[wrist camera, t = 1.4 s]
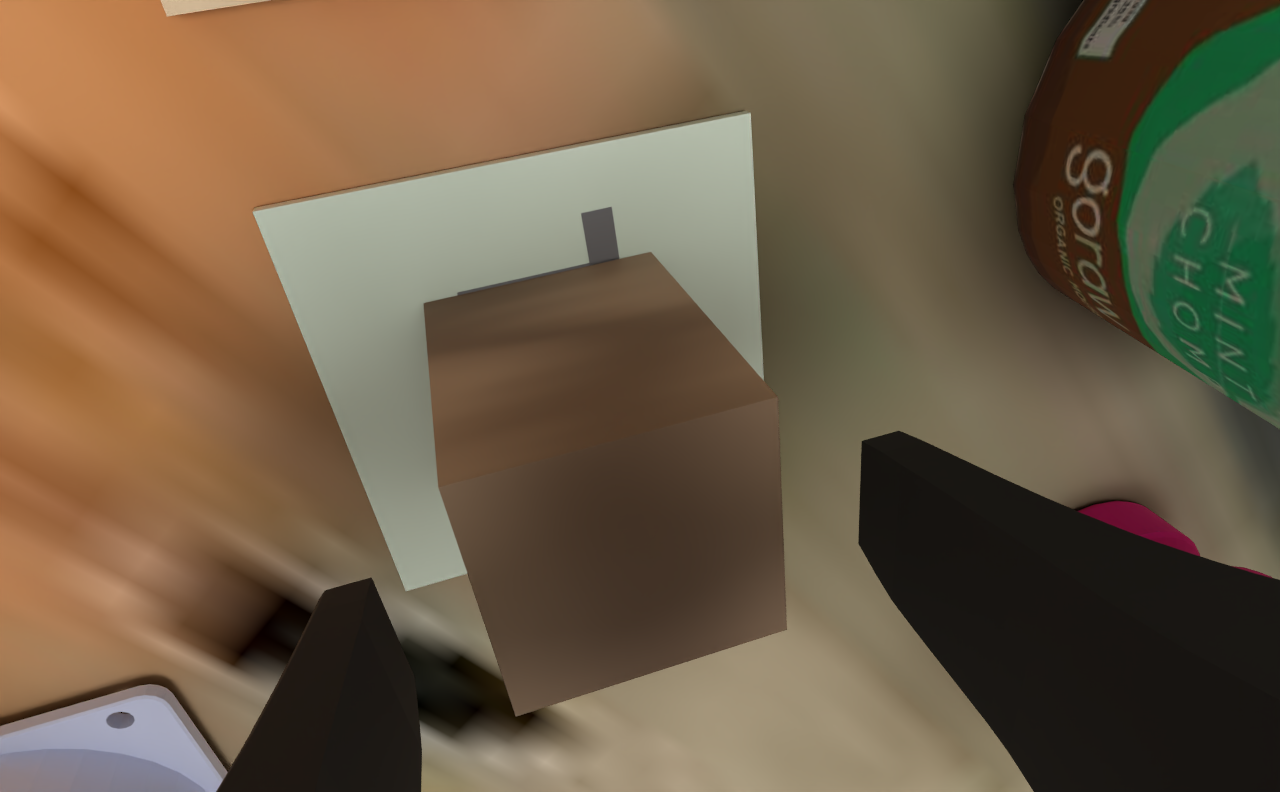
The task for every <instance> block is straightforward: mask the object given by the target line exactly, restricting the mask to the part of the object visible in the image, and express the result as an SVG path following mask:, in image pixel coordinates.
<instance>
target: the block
mask: <svg viewBox="0 0 1280 792" xmlns="http://www.w3.org/2000/svg"><path fill="white" fill-rule="evenodd" d="M423 305H424V317H425V330H426V342H427V355H428V367H429V379H430V392H431V404H432V416H433V429H434V441H435V454H436V466H437V478H438V488H439V491H440V494H441V497H442V500H443V503H444V506H445V509H446V512H447V515H448V518H449V521H450V524H451V526H452V529H453V532H454V535H455V538H456V541H457V544H458V547H459V550H460V553H461V556H462V559H463V562H464V565H465V568H466V571H467V574H468V577H469V580H470V583H471V585H472V588H473V591H474V594H475V597H476V600H477V603H478V606H479V609H480V612H481V615H482V618H483V621H484V624H485V627H486V630H487V633H488V636H489V639H490V641H491V644H492V647H493V650H494V653H495V656H496V659H497V662H498V665H499V668H500V671H501V674H502V677H503V680H504V683H505V686H506V689H507V692H508V695H509V698H510V700H511V703H512V706H513V709H514V712H515V715H516V716H519V715H522V714H525V713H528V712H531V711H535V710H538V709H541V708H544V707H547V706H550V705H553V704H556V703H559V702H563V701H566V700H569V699H572V698H575V697H578V696H581V695H584V694H588V693H591V692H594V691H597V690H600V689H603V688H606V687H609V686H612V685H616V684H619V683H622V682H625V681H628V680H631V679H634V678H637V677H640V676H644V675H647V674H650V673H653V672H656V671H659V670H662V669H665V668H668V667H672V666H675V665H678V664H681V663H684V662H687V661H690V660H693V659H697V658H700V657H703V656H706V655H709V654H712V653H715V652H718V651H721V650H725V649H728V648H731V647H734V646H737V645H740V644H743V643H746V642H749V641H753V640H756V639H759V638H762V637H765V636H768V635H771V634H774V633H778V632H781V631H784V630H787V620H786V594H785V568H784V542H783V516H782V490H781V464H780V438H779V412H778V397H777V395H776V394H775V393H774V392H773V391H772V390H771V389H770V387H769V386H768V385H767V384H766V383H765V382H764V381H763V379H762V378H761V377H760V376H759V375H758V374H757V373H756V371H755V370H754V369H753V368H752V367H751V366H750V365H749V363H748V362H747V361H746V360H745V359H744V358H743V356H742V355H741V354H740V353H739V352H738V351H737V350H736V348H735V347H734V346H733V345H732V344H731V343H730V342H729V340H728V339H727V338H726V337H725V336H724V335H723V334H722V332H721V331H720V330H719V329H718V328H717V327H716V326H715V324H714V323H713V322H712V321H711V320H710V319H709V318H708V316H707V315H706V314H705V313H704V312H703V311H702V310H701V308H700V307H699V306H698V305H697V304H696V303H695V302H694V300H693V299H692V298H691V297H690V296H689V295H688V294H687V292H686V291H685V290H684V289H683V288H682V287H681V286H680V284H679V283H678V282H677V281H676V280H675V279H674V278H673V276H672V275H671V274H670V273H669V272H668V271H667V270H666V268H665V267H664V266H663V265H662V264H661V263H660V262H659V260H658V259H657V258H656V257H655V256H654V255H653V254H652V252H648V253H644V254H639V255H635V256H630V257H626V258H622V259H617V260H613V261H608V262H604V263H599V264H595V265H591V266H586V267H582V268H577V269H573V270H568V271H564V272H559V273H555V274H551V275H546V276H542V277H537V278H533V279H528V280H524V281H520V282H515V283H511V284H506V285H502V286H497V287H493V288H488V289H484V290H480V291H475V292H471V293H466V294H462V295H457V296H453V297H449V298H444V299H440V300H435V301H431V302H426V303H423Z"/></svg>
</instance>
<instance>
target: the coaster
mask: <svg viewBox="0 0 1280 792" xmlns="http://www.w3.org/2000/svg"><path fill="white" fill-rule="evenodd" d="M263 1H269V0H161V3H162V5H163V8H164V10H165V12H166V15H167V16H172V15H179V14H185V13H192V12H198V11H205V10H211V9H218V8H224V7H231V6H237V5H243V4H250V3H256V2H263Z"/></svg>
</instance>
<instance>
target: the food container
mask: <svg viewBox="0 0 1280 792" xmlns="http://www.w3.org/2000/svg"><path fill="white" fill-rule="evenodd" d="M1013 185H1014V194H1015V203H1016V212H1017V222H1018V230H1019V233H1020V236H1021V239H1022V241H1023V244H1024V247H1025V250H1026V253H1027V255H1028V256H1029V258H1030V260H1031V261H1032V263H1033V265H1034V266H1035V268H1036V269H1037V271H1038V273H1039V274H1040V275H1041V276H1042V277H1043V278H1044V279H1045V280H1046V281H1047V282H1048V283H1050V284H1051V285H1052V286H1053V287H1054V288H1055V289H1057V290H1058V291H1060V292H1061V293H1063V294H1065V295H1066V296H1068V297H1069V298H1071V299H1073V300H1074V301H1076V302H1077V303H1079V304H1081V305H1082V306H1084V307H1085V308H1087V309H1089V310H1090V311H1092V312H1093V313H1095V314H1097V315H1098V316H1100V317H1101V318H1103V319H1105V320H1106V321H1108V322H1109V323H1111V324H1113V325H1114V326H1116V327H1117V328H1119V329H1121V330H1122V331H1124V332H1125V333H1127V334H1129V335H1130V336H1132V337H1133V338H1135V339H1137V340H1138V341H1140V342H1141V343H1143V344H1145V345H1146V346H1148V347H1149V348H1151V349H1153V350H1154V351H1156V352H1157V353H1159V354H1160V355H1162V356H1164V357H1165V358H1167V359H1168V360H1170V361H1172V362H1173V363H1175V364H1176V365H1178V366H1180V367H1181V368H1183V369H1184V370H1186V371H1188V372H1189V373H1191V374H1192V375H1194V376H1196V377H1197V378H1199V379H1200V380H1202V381H1204V382H1205V383H1207V384H1208V385H1210V386H1212V387H1213V388H1215V389H1216V390H1218V391H1220V392H1221V393H1223V394H1224V395H1226V396H1228V397H1229V398H1231V399H1232V400H1234V401H1236V402H1237V403H1239V404H1240V405H1242V406H1244V407H1245V408H1247V409H1248V410H1250V411H1252V412H1253V413H1255V414H1256V415H1258V416H1260V417H1261V418H1263V419H1264V420H1266V421H1268V422H1269V423H1271V424H1272V425H1274V426H1276V427H1277V428H1279V429H1280V0H1083V2H1082V3H1081V5H1080V6H1079V7H1078V9H1077V10H1076V12H1075V13H1074V15H1073V16H1072V18H1071V19H1070V20H1069V22H1068V23H1067V25H1066V26H1065V28H1064V29H1063V31H1062V32H1061V34H1060V35H1059V36H1058V38H1057V40H1056V42H1055V45H1054V47H1053V49H1052V52H1051V54H1050V57H1049V59H1048V61H1047V64H1046V66H1045V68H1044V71H1043V73H1042V76H1041V78H1040V80H1039V83H1038V85H1037V88H1036V90H1035V92H1034V95H1033V97H1032V100H1031V102H1030V104H1029V107H1028V109H1027V111H1026V114H1025V118H1024V124H1023V130H1022V136H1021V142H1020V148H1019V154H1018V160H1017V166H1016V172H1015V178H1014V184H1013Z"/></svg>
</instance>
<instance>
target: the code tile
mask: <svg viewBox="0 0 1280 792" xmlns="http://www.w3.org/2000/svg"><path fill="white" fill-rule="evenodd" d="M253 214H254V216H255V219H256V221H257V224H258V226H259V229H260V231H261V234H262V236H263V239H264V241H265V244H266V246H267V249H268V251H269V254H270V256H271V259H272V261H273V263H274V266H275V268H276V271H277V273H278V276H279V278H280V281H281V283H282V286H283V288H284V291H285V293H286V296H287V298H288V301H289V303H290V306H291V308H292V310H293V313H294V315H295V318H296V320H297V323H298V325H299V328H300V330H301V333H302V335H303V338H304V340H305V343H306V345H307V348H308V350H309V353H310V355H311V357H312V360H313V362H314V365H315V367H316V370H317V372H318V375H319V377H320V380H321V382H322V385H323V387H324V390H325V392H326V395H327V397H328V400H329V402H330V405H331V407H332V409H333V412H334V414H335V417H336V419H337V422H338V424H339V427H340V429H341V432H342V434H343V437H344V439H345V442H346V444H347V447H348V449H349V452H350V454H351V456H352V459H353V461H354V464H355V466H356V469H357V471H358V474H359V476H360V479H361V481H362V484H363V486H364V489H365V491H366V494H367V496H368V499H369V501H370V503H371V506H372V508H373V511H374V513H375V516H376V518H377V521H378V523H379V526H380V528H381V531H382V533H383V536H384V538H385V541H386V543H387V546H388V548H389V550H390V553H391V555H392V558H393V560H394V563H395V565H396V568H397V570H398V573H399V575H400V578H401V580H402V583H403V585H404V588H405V590H406V591H409V590H412V589H416V588H419V587H423V586H426V585H430V584H433V583H437V582H440V581H444V580H447V579H451V578H454V577H458V576H461V575H465V574H467V571H466V568H465V565H464V562H463V559H462V556H461V553H460V550H459V547H458V544H457V541H456V538H455V535H454V532H453V529H452V526H451V524H450V521H449V518H448V515H447V512H446V509H445V506H444V503H443V500H442V497H441V494H440V491H439V488H438V478H437V466H436V454H435V441H434V429H433V416H432V404H431V392H430V379H429V367H428V355H427V342H426V330H425V317H424V305H423V303H426V302H431V301H435V300H440V299H444V298H449V297H453V296H457V295H462V294H466V293H471V292H475V291H480V290H484V289H488V288H493V287H497V286H502V285H506V284H511V283H515V282H520V281H524V280H528V279H533V278H537V277H542V276H546V275H551V274H555V273H559V272H564V271H568V270H573V269H577V268H582V267H586V266H591V265H595V264H599V263H604V262H608V261H613V260H617V259H622V258H626V257H630V256H635V255H639V254H644V253H648V252H652V254H653V255H654V256H655V257H656V258H657V259H658V260H659V262H660V263H661V264H662V265H663V266H664V267H665V268H666V270H667V271H668V272H669V273H670V274H671V275H672V276H673V278H674V279H675V280H676V281H677V282H678V283H679V284H680V286H681V287H682V288H683V289H684V290H685V291H686V292H687V294H688V295H689V296H690V297H691V298H692V299H693V300H694V302H695V303H696V304H697V305H698V306H699V307H700V308H701V310H702V311H703V312H704V313H705V314H706V315H707V316H708V318H709V319H710V320H711V321H712V322H713V323H714V324H715V326H716V327H717V328H718V329H719V330H720V331H721V332H722V334H723V335H724V336H725V337H726V338H727V339H728V340H729V342H730V343H731V344H732V345H733V346H734V347H735V348H736V350H737V351H738V352H739V353H740V354H741V355H742V356H743V358H744V359H745V360H746V361H747V362H748V363H749V365H750V366H751V367H752V368H753V369H754V370H755V371H756V373H757V374H758V375H759V376H760V377H761V378H762V379H763V381H764V374H763V354H762V333H761V313H760V293H759V273H758V252H757V232H756V212H755V191H754V171H753V151H752V131H751V113H750V112H747V111H742V112H736V113H731V114H726V115H721V116H716V117H711V118H706V119H701V120H696V121H691V122H686V123H681V124H676V125H671V126H666V127H661V128H655V129H650V130H645V131H640V132H635V133H630V134H625V135H620V136H615V137H610V138H605V139H600V140H595V141H590V142H585V143H580V144H574V145H569V146H564V147H559V148H554V149H549V150H544V151H539V152H534V153H529V154H524V155H519V156H514V157H509V158H504V159H499V160H493V161H488V162H483V163H478V164H473V165H468V166H463V167H458V168H453V169H448V170H443V171H438V172H433V173H428V174H423V175H418V176H413V177H407V178H402V179H397V180H392V181H387V182H382V183H377V184H372V185H367V186H362V187H357V188H352V189H347V190H342V191H337V192H332V193H326V194H321V195H316V196H311V197H306V198H301V199H296V200H291V201H286V202H281V203H276V204H271V205H266V206H261V207H256V208H254V210H253Z"/></svg>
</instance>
